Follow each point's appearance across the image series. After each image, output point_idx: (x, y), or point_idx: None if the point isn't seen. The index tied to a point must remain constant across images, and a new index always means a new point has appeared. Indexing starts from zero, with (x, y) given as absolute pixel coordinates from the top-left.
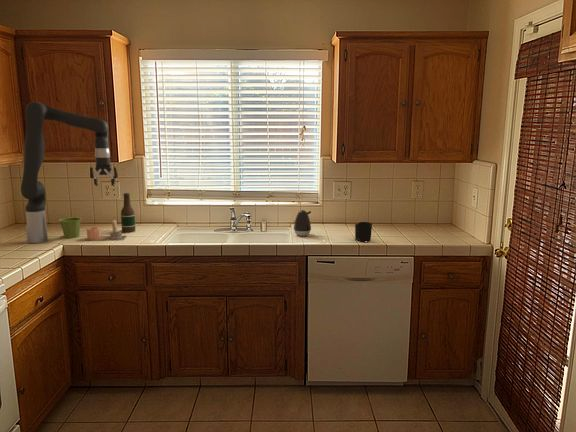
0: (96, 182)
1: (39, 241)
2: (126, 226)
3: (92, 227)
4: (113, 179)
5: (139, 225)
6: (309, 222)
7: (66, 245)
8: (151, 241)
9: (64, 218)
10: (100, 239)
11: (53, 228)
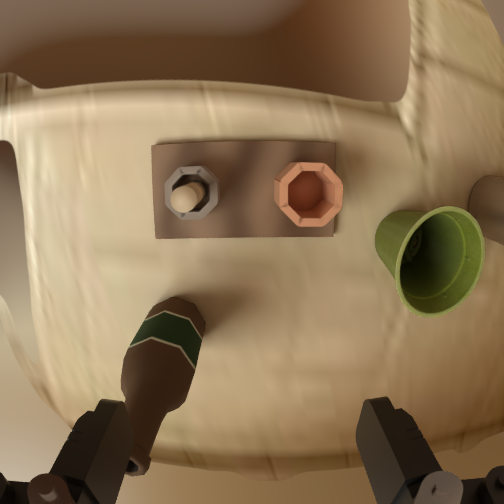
0: (385, 433)
1: (485, 178)
2: (169, 312)
3: (320, 218)
4: (55, 475)
5: (178, 430)
6: None
7: (389, 114)
8: (50, 158)
9: (467, 292)
10: (264, 169)
11: (460, 387)
